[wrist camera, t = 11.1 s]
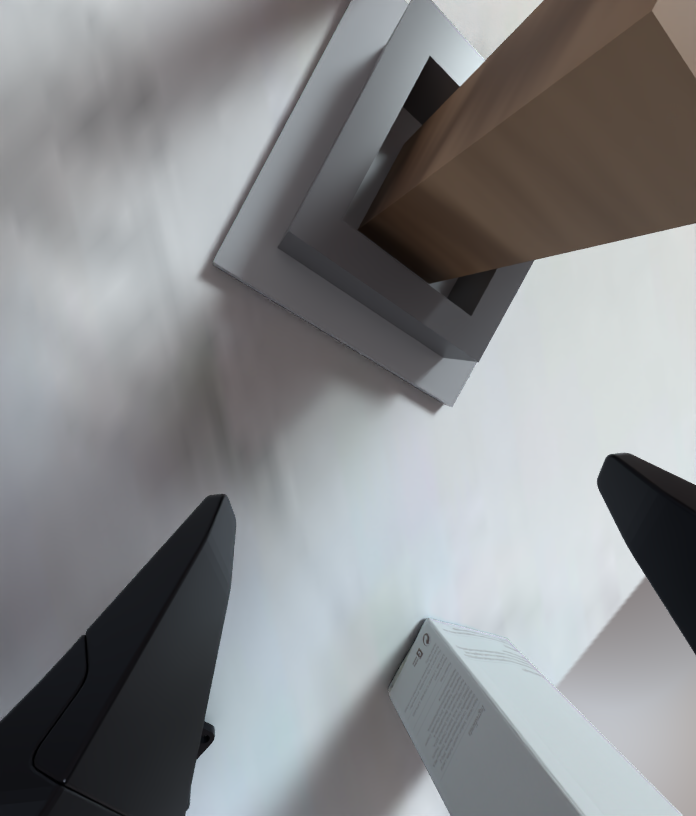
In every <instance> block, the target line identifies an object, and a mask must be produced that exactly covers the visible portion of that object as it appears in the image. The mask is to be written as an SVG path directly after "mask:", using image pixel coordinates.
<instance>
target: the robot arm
mask: <svg viewBox="0 0 696 816" xmlns="http://www.w3.org/2000/svg"><path fill="white" fill-rule="evenodd" d="M597 485H598V489H599V491H600V493H601V495H602V497H603V499H604V501H605V503H606V505H607V507H608V509H609V511H610V513H611V515H612V517H613V519H614V521H615V523H616V525H617V527H618V529H619V531H620V533H621V535H622V537H623V539H624V541H625V543H626V544H627V546H628V548H629V550H630V551H631V553H632V555H633V556H634V558H635V560H636V561H637V563H638V564H639V566H640V568H641V569H642V571H643V572H644V574H645V575H646V577H647V579H648V580H649V582H650V583H651V585H652V587H653V588H654V590H655V591H656V593H657V594H658V596H659V597H660V599H661V601H662V602H663V604H664V606H665V607H666V609H667V610H668V612H669V613H670V615H671V617H672V618H673V620H674V621H675V623H676V624H677V626H678V627H679V629H680V631H681V632H682V634H683V636H684V637H685V639H686V640H687V642H688V643H689V645H690V647H691V648H692V650H693V651H694V653H695V655H696V485H694V484H692V483H690V482H688V481H686V480H684V479H682V478H680V477H678V476H676V475H674V474H671V473H669V472H667V471H665V470H663V469H661V468H659V467H657V466H655V465H653V464H651V463H649V462H646V461H644V460H642V459H640V458H638V457H636V456H634V455H632V454H629V453H617V454H610V455H608V456H607V457H606V459H605V461H604V463H603V466H602V468H601V471H600V473H599V476H598V478H597ZM235 533H236V518H235V515H234V512H233V509H232V507H231V504H230V501H229V499H228V497H227V496H226V495H225V494H218V495H210V496H208V497H206V498H205V499H204V500H203V501H202V503H201V504H200V505H199V506H198V507H197V508H196V509H195V510H194V512H193V513H192V514H191V515H190V516H189V517H188V518H187V519H186V520H185V522H184V523H183V524H182V525H181V526H180V527H179V528H178V529H177V530H176V532H175V533H174V534H173V535H172V536H171V537H170V538H169V539H168V540H167V542H166V543H165V544H164V545H163V546H162V547H161V548H160V549H159V550H158V552H157V553H156V554H155V555H154V556H153V557H152V558H151V559H150V561H149V562H148V563H147V564H146V565H145V566H144V567H143V568H142V569H141V571H140V572H139V573H138V574H137V575H136V576H135V577H134V578H133V579H132V581H131V582H130V583H129V584H128V585H127V586H126V587H125V588H124V589H123V591H122V592H121V593H120V594H119V595H118V596H117V597H116V598H115V599H114V601H113V602H112V603H111V604H110V605H109V606H108V607H107V608H106V610H105V611H104V612H103V613H102V614H101V615H100V616H99V617H98V618H97V620H96V621H95V622H94V623H93V624H92V625H91V626H90V627H89V628H88V630H87V631H86V635H82V636H81V637H80V638H79V639H78V640H77V642H76V643H75V644H74V645H73V646H72V647H71V648H70V649H69V651H68V652H67V653H66V654H65V655H64V656H63V657H62V658H61V659H60V660H59V661H58V662H57V664H56V665H55V666H54V667H53V668H52V669H51V670H50V671H49V672H48V673H47V674H46V675H45V676H44V678H43V679H42V680H41V681H40V682H39V683H38V684H37V685H36V686H35V687H34V688H33V689H32V690H31V691H30V692H29V693H28V694H27V695H26V696H25V697H24V698H23V699H22V700H21V701H20V702H19V703H18V704H17V705H16V706H15V707H14V708H13V709H12V710H11V711H10V712H9V713H8V714H7V715H6V716H5V717H4V718H3V719H2V720H1V721H0V816H185V813H186V811H187V810H188V808H189V805H190V794H191V783H192V778H193V773H194V768H195V763H196V760H197V759H198V757H199V756H200V755H201V754H202V753H203V752H204V751H205V750H206V749H207V748H208V747H209V746H210V744H211V743H212V742H213V741H214V737H215V729H214V727H213V726H212V725H211V724H209V723H207V722H205V721H204V719H205V714H206V709H207V704H208V699H209V694H210V689H211V684H212V679H213V674H214V669H215V664H216V659H217V654H218V649H219V644H220V639H221V634H222V629H223V625H224V620H225V615H226V610H227V605H228V600H229V594H230V588H231V579H232V567H233V556H234V545H235ZM205 735H207V736H205Z"/></svg>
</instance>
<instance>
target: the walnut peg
mask: <svg viewBox="0 0 696 816" xmlns="http://www.w3.org/2000/svg"><path fill="white" fill-rule="evenodd" d="M694 223H696V0H544V1H543V2H542V3H541V4H540V5H539V6H538V7H537V8H536V9H535V10H534V11H533V12H532V13H531V14H530V15H529V16H528V17H527V18H526V19H525V20H524V21H523V22H522V23H521V25H520V26H519V27H518V28H517V29H516V30H515V31H514V32H513V33H512V34H511V35H510V36H509V37H508V38H507V39H506V40H505V41H504V42H503V43H502V44H501V45H500V46H499V47H498V48H497V49H496V50H495V51H494V52H493V53H492V54H491V55H490V56H489V57H488V58H487V59H486V60H485V61H484V62H483V63H482V64H481V66H480V67H479V68H478V69H477V70H476V71H475V72H474V73H473V74H472V75H471V76H470V77H469V78H468V79H467V80H466V81H465V82H464V83H463V84H462V85H461V86H460V87H459V88H458V89H457V90H456V91H455V92H454V93H453V94H452V95H451V96H450V97H449V98H448V99H447V100H446V101H445V102H444V103H443V104H442V105H441V106H440V108H439V109H438V110H437V111H436V112H435V113H434V114H433V115H432V116H431V117H430V118H429V119H428V120H427V121H426V122H425V123H424V124H423V125H422V126H421V127H420V128H419V129H418V130H417V131H416V132H415V133H414V134H413V135H412V136H411V137H410V138H409V139H408V140H407V141H406V142H405V143H404V145H403V147H402V149H401V150H400V152H399V154H398V156H397V158H396V160H395V161H394V163H393V165H392V167H391V169H390V171H389V173H388V174H387V176H386V178H385V180H384V182H383V184H382V185H381V187H380V189H379V191H378V193H377V195H376V197H375V198H374V200H373V202H372V204H371V206H370V208H369V209H368V211H367V213H366V215H365V217H364V219H363V221H362V222H361V224H360V226H359V228H358V231H360V232H361V233H362V234H364V235H365V236H366V237H368V238H369V239H370V240H372V241H373V242H374V243H376V244H377V245H378V246H380V247H381V248H382V249H384V250H385V251H386V252H388V253H389V254H390V255H392V256H393V257H394V258H396V259H397V260H398V261H400V262H401V263H402V264H404V265H405V266H406V267H407V268H409V269H410V270H411V271H413V272H414V273H415V274H417V275H418V276H419V277H421V278H422V279H423V280H425V281H426V282H427V283H429V284H431V283H435V282H440V281H444V280H449V279H453V278H457V277H462V276H466V275H471V274H475V273H479V272H484V271H488V270H492V269H497V268H501V267H506V266H510V265H514V264H519V263H523V262H527V261H532V260H536V259H541V258H545V257H549V256H554V255H558V254H563V253H567V252H571V251H576V250H580V249H584V248H589V247H593V246H598V245H602V244H606V243H611V242H615V241H619V240H624V239H628V238H633V237H637V236H641V235H646V234H650V233H655V232H659V231H663V230H668V229H672V228H676V227H681V226H685V225H690V224H694Z"/></svg>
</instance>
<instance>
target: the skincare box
mask: <svg viewBox="0 0 696 816" xmlns="http://www.w3.org/2000/svg"><path fill="white" fill-rule="evenodd" d="M389 697H390V699H391V701H392V703H393V705H394V707H395V709H396V711H397V713H398V715H399V717H400V719H401V721H402V723H403V725H404V726H405V728H406V730H407V732H408V734H409V736H410V738H411V740H412V742H413V744H414V746H415V747H416V749H417V751H418V753H419V755H420V757H421V759H422V761H423V763H424V765H425V767H426V769H427V771H428V773H429V775H430V776H431V778H432V780H433V782H434V784H435V786H436V788H437V790H438V792H439V794H440V796H441V798H442V800H443V802H444V804H445V806H446V808H447V809H448V811H449V813H450V815H451V816H683V815H682V814H681V813H680V812H679V811H678V810H677V809H676V808H675V807H674V806H673V805H672V804H671V803H670V802H669V801H668V800H667V799H666V798H665V797H664V796H663V795H662V794H661V793H660V792H659V791H658V790H657V789H656V788H655V787H654V786H653V785H652V784H651V783H650V782H649V781H648V780H647V779H646V778H645V777H644V776H643V775H642V774H641V773H640V772H639V771H638V770H637V769H636V768H635V767H634V766H633V765H632V764H631V763H630V762H629V761H628V760H627V759H626V758H625V757H624V756H623V755H622V754H621V753H620V752H619V751H618V750H617V749H616V748H615V747H614V746H613V745H612V744H611V743H610V742H609V741H608V739H606V738H605V736H604V735H602V733H600V731H599V730H598V729H597V728H596V727H595V726H593V724H592V723H591V722H590V721H589V720H588V719H587V718H586V717H585V716H584V715H583V714H582V713H581V712H579V710H578V709H577V708H576V707H575V706H574V705H573V704H572V703H571V702H570V701H569V700H568V699H567V698H566V697H565V696H564V695H563V694H562V693H561V692H560V691H559V690H558V689H557V688H556V687H555V686H554V685H553V684H552V683H551V682H550V681H549V680H548V679H547V678H546V677H545V676H544V675H543V674H542V673H541V672H540V671H539V670H538V669H537V668H536V667H535V666H534V665H533V664H532V663H531V662H530V661H529V660H528V659H527V658H526V657H525V656H524V655H523V654H522V653H521V652H520V651H519V650H518V649H517V648H516V647H515V646H514V645H513V644H512V643H511V642H510V640H509V639H507V638H503V637H500V636H496V635H492V634H488V633H485V632H481V631H477V630H473V629H470V628H466V627H462V626H459V625H454V624H450V623H445V622H441V621H438V620H435V619H432V618H427V619H426V620H425V622H424V624H423V625H422V627H421V629H420V631H419V634H418V636H417V638H416V640H415V642H414V644H413V645H412V647H411V649H410V651H409V652H408V654H407V656H406V657H405V659H404V661H403V662H402V664H401V666H400V668H399V670H398V671H397V673H396V675H395V677H394V679H393V681H392V683H391V684H390V687H389Z"/></svg>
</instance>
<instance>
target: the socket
mask: <svg viewBox="0 0 696 816" xmlns="http://www.w3.org/2000/svg"><path fill="white" fill-rule="evenodd" d="M484 61H485V59H484V58H483V57H482V56H481V55H480V54H479V52H478V51H477V50H476V49H475V48H474V47H473V46H472V45H471V44H470V42H469V41H468V40H467V39H466V38H465V37H464V36H463V35H462V34H461V32H460V31H459V30H458V29H457V28H456V27H455V26H454V25H453V24H452V22H451V21H450V20H449V19H448V18H447V17H446V16H445V15H444V14H443V12H442V11H441V10H440V9H439V8H438V7H437V6H436V5H435V4H434V2H433V1H432V0H411V1H410V3H409V4H408V3H407V2H406V1H405V0H351V2H350V4H349V6H348V8H347V10H346V12H345V13H344V15H343V17H342V19H341V21H340V23H339V25H338V27H337V29H336V30H335V32H334V34H333V36H332V38H331V40H330V42H329V44H328V45H327V47H326V49H325V51H324V53H323V55H322V57H321V59H320V61H319V62H318V64H317V66H316V68H315V70H314V72H313V74H312V76H311V78H310V79H309V81H308V83H307V85H306V87H305V89H304V91H303V93H302V94H301V96H300V98H299V100H298V102H297V104H296V106H295V108H294V110H293V111H292V113H291V115H290V117H289V119H288V121H287V123H286V125H285V127H284V128H283V130H282V132H281V134H280V136H279V138H278V140H277V142H276V143H275V145H274V147H273V149H272V151H271V153H270V155H269V157H268V159H267V160H266V162H265V164H264V166H263V168H262V170H261V172H260V174H259V176H258V177H257V179H256V181H255V183H254V185H253V187H252V189H251V191H250V192H249V194H248V196H247V198H246V200H245V202H244V204H243V206H242V208H241V209H240V211H239V213H238V215H237V217H236V219H235V221H234V223H233V225H232V226H231V228H230V230H229V232H228V234H227V236H226V238H225V240H224V241H223V243H222V245H221V247H220V249H219V251H218V253H217V255H216V257H215V258H214V260H213V265H215V266H216V267H218V268H219V269H221V270H223V271H224V272H226V273H228V274H229V275H231V276H233V277H234V278H236V279H238V280H239V281H241V282H243V283H244V284H246V285H248V286H249V287H251V288H253V289H254V290H256V291H258V292H259V293H261V294H262V295H264V296H266V297H267V298H269V299H271V300H272V301H274V302H276V303H277V304H279V305H281V306H282V307H284V308H286V309H287V310H289V311H291V312H292V313H294V314H296V315H297V316H299V317H301V318H302V319H304V320H305V321H307V322H309V323H310V324H312V325H314V326H315V327H317V328H319V329H320V330H322V331H324V332H325V333H327V334H329V335H330V336H332V337H334V338H335V339H337V340H339V341H340V342H342V343H344V344H345V345H347V346H349V347H350V348H352V349H353V350H355V351H357V352H358V353H360V354H362V355H363V356H365V357H367V358H368V359H370V360H372V361H373V362H375V363H377V364H378V365H380V366H382V367H383V368H385V369H387V370H388V371H390V372H392V373H393V374H395V375H396V376H398V377H400V378H401V379H403V380H405V381H406V382H408V383H410V384H411V385H413V386H415V387H416V388H418V389H420V390H421V391H423V392H425V393H426V394H428V395H430V396H431V397H433V398H435V399H436V400H438V401H439V402H441V403H443V404H444V405H448V406H451V407H453V405H454V403H455V401H456V399H457V397H458V396H459V394H460V392H461V390H462V388H463V387H464V385H465V383H466V381H467V379H468V377H469V376H470V374H471V372H472V370H473V368H474V366H475V365H476V363H477V362H479V360H480V358H481V357H482V355H483V353H484V351H485V349H486V347H487V346H488V344H489V342H490V340H491V338H492V336H493V335H494V333H495V331H496V329H497V327H498V326H499V324H500V322H501V320H502V318H503V316H504V315H505V313H506V311H507V309H508V307H509V305H510V304H511V302H512V300H513V298H514V296H515V294H516V293H517V291H518V289H519V287H520V285H521V284H522V282H523V280H524V278H525V276H526V274H527V273H528V271H529V269H530V267H531V265H532V263H533V262H534V260H532V261H527V262H523V263H519V264H514V265H510V266H506V267H501V268H497V269H492V270H488V271H484V272H479V273H475V274H471V275H466V276H462V277H457V278H453V279H449V280H444V281H440V282H435V283H431V284H429V283H427V282H426V281H425V280H423V279H422V278H421V277H419V276H418V275H417V274H415V273H414V272H413V271H411V270H410V269H409V268H407V267H406V266H405V265H404V264H402V263H401V262H400V261H398V260H397V259H396V258H394V257H393V256H392V255H390V254H389V253H388V252H386V251H385V250H384V249H382V248H381V247H380V246H378V245H377V244H376V243H374V242H373V241H372V240H370V239H369V238H368V237H366V236H365V235H364V234H362V233H361V232H360V231H358V228H359V226H360V224H361V222H362V221H363V219H364V217H365V215H366V213H367V211H368V209H369V208H370V206H371V204H372V202H373V200H374V198H375V197H376V195H377V193H378V191H379V189H380V187H381V185H382V184H383V182H384V180H385V178H386V176H387V174H388V173H389V171H390V169H391V167H392V165H393V163H394V161H395V160H396V158H397V156H398V154H399V152H400V150H401V149H402V147H403V145H404V143H405V142H406V141H407V140H408V139H409V138H410V137H411V136H412V135H413V134H414V133H415V132H416V131H417V130H418V129H419V128H420V127H421V126H422V125H423V124H424V123H425V122H426V121H427V120H428V119H429V118H430V117H431V116H432V115H433V114H434V113H435V112H436V111H437V110H438V109H439V108H440V106H441V105H442V104H443V103H444V102H445V101H446V100H447V99H448V98H449V97H450V96H451V95H452V94H453V93H454V92H455V91H456V90H457V89H458V88H459V87H460V86H461V85H462V84H463V83H464V82H465V81H466V80H467V79H468V78H469V77H470V76H471V75H472V74H473V73H474V72H475V71H476V70H477V69H478V68H479V67H480V66H481V64H482V63H483V62H484Z"/></svg>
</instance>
